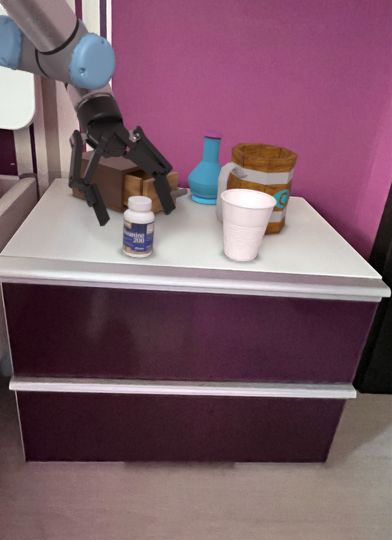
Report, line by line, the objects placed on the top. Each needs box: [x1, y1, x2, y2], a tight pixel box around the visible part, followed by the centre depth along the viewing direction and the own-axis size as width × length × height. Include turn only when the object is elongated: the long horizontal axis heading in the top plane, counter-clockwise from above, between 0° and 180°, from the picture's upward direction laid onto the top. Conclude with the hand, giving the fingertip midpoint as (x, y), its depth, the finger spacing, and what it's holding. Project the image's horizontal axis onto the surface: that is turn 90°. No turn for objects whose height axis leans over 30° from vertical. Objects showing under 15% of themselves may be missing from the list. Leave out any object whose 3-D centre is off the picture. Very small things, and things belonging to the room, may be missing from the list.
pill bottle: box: [122, 196, 156, 259], centre depth 99 cm, size 5×5×10 cm
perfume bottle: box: [187, 129, 229, 205], centre depth 126 cm, size 9×9×15 cm
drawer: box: [123, 169, 189, 214], centre depth 118 cm, size 17×11×7 cm, turn 56°
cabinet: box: [71, 149, 141, 213], centre depth 122 cm, size 14×12×9 cm
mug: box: [215, 142, 299, 236], centre depth 114 cm, size 20×14×15 cm
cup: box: [221, 189, 276, 262], centre depth 102 cm, size 10×10×11 cm
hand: (139, 217), depth 98 cm, fingers open, 13 cm apart
